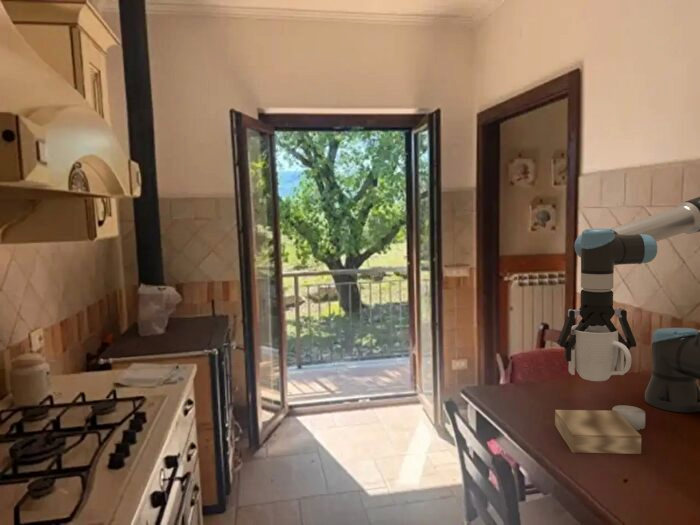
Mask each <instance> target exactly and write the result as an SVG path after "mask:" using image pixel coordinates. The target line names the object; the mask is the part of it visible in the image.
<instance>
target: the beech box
mask: <svg viewBox="0 0 700 525" xmlns="http://www.w3.org/2000/svg"><path fill="white" fill-rule="evenodd" d="M554 415H555V416H554V421H555V422H554V426H555V428H556V429H557V431H558V433H559V434H560V435H561V437H562V439H563V440H564V441H565V443H566V445H567V446H568V448H569V450H570V451H571V453H577V454H579V453H580V454H581V453H587V454H588V453H589V454H596V453H597V454H623V455H624V454H625V455H626V454H629V455H642V435H641V434H640V433H639V432H638V430H635V429H634V428H633V427H632V426H631V425H630V424H629V423H628V422H627V421H626V420H625V419H624V418H623V417H622V416H621V415H620V414H619V413H618V412H617V411H612V410H603V409H602V410H600V409H599V410H598V409H594V410H593V409H591V410H590V409H583V410H582V409H554Z"/></svg>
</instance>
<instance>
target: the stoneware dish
mask: <svg viewBox="0 0 700 525" xmlns="http://www.w3.org/2000/svg"><path fill="white" fill-rule="evenodd" d="M611 411H617V412H618V413H619V414H620V415H621V416H622V417H623V418H624V419H625V420H626V421H627V422H628V423H629V424H630V425H631V426H632V427H633V428H634V429H635V430H636V431H641V430H643V429H645V428H646V411H645V410H643V409H642V408H639V407H637V406H632V405H628V404H627V405H625V404H619V405H618V404H617V405H615V406H612V409H611ZM640 429H641V430H640Z"/></svg>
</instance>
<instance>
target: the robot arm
mask: <svg viewBox="0 0 700 525" xmlns="http://www.w3.org/2000/svg"><path fill="white" fill-rule="evenodd" d="M695 233H700V196H697V197H694V198H692V199H689V200H686V201H683V202H680V203H678V204H676V205H675V207H674V208H671V209H669V210H664V211H662V212H659V213H655V214H652V215H650V216H646V217H644V218H639V219H637V220H634V221H631V222H628V223H623V224H621V225H618V226H615V227H611V228H586V229H584V230H582V232H581V234H580V235H578V236H577V238H576V239H575V241H574V251H575V253H576V255H577V256H578V257H580V288H581V290H580V302H579V303H580V304H579V305H580V306H579V308H578V309H571V308H568V309H567V310H566V319H565V322H564V324H563V327H562V328H561V331H560V334H559V336H558V339H557V341H556V342H557V343H556V344H557V345H559V347H561V348H564V359H565V361H566V362H568V372H569V374H571V376H575V375H576V374H575V373H576V371H575V370H576V368H575V350H574V349H573V348H572V347H573V346H574V344H575V343H576V334H575V335H572V334H571V328H572V326H574V322H575V319H576V318H577V317H578V315H579V316H580V317H581V320H580V321H579V322H578V324H577V325H578V326H577V327H576V329H575V330H577V331H582V332H584V331H585V329H587V328H588V327H589V325H590V326H597V325H598V326H604V325H605V326H606V327H607V328H608V329H609V331H610V332H615V331H617V329H618V328H617V329H616V326H615V325H614V323H613V322H612V320H611V319H612V318H613V317H614V316H615V317H617V318H618V321H619V324H620V327H621V329H622V332H623V334H624V337H625V339H624V337H623V336H622V335H621V333H620V332H619V331H618V342H620V343H622V344H624V345H625V346H626V347H627V348H628V350H629V351H630V349H631V348H635V347H637V342H636V340H635V336H634V335H633V331H632V329H631V326H630V323H629V321H628V318H627V317H628V316H627V315H628V313H627V312H628V311H627V310H625V309H623V308H621V307H620V308H618V309H615V308H614V291H613V288H614V271H615V270H614V269H615V266H619V265H620V266H621V265H641V264H646V263H647V264H648V263H651V262H652V261H654V259H655V258H656V256H657V255H658V254H657V253H658V244H657V243H658V242H659V241H662V240H666V239H668V238H672V237H674V236H678V235H681V234H686V235H692V234H695ZM569 335H570V336H569ZM625 362H626V358H625V354H624V352H623V351H622V349H621V348H619V347H618V357H617V362H616V371H621V370H623V369H624V367H625ZM624 375H625V373H624V374H621V375H620V376H624ZM698 380H700V329H696V328H692V327H663V328H657V329H656V330H654V331H653V334H652V341H651V377H650V380H649V381H648V385H647V387H646V389H645V392H644V401H645V402H646V403H647V404H648V405H650V406H652V407H654V408H658V409H660V410H663V411H669V412H676V413H687V414H689V413H698V412H700V385H699V382H698Z"/></svg>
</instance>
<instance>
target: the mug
mask: <svg viewBox="0 0 700 525" xmlns="http://www.w3.org/2000/svg"><path fill="white" fill-rule="evenodd" d="M578 325H579V324H575V325H574V324H573V326H572V328H571V330H570V335H571V334H572V335H575V334H576V343H575V344H574V346H573V347H572V348H573V349H574V350H575V370H576V372H577V374H578V376H579V377H581V379H583V380H586V381H590V382H606V381H607V380H609V379H610V378H611V377H612V376H618V375H619V376H622V375H621V374H624V375H625V374H626V373H627V372H629V371H630V369H631V365H632V354H631V353H630V350H628V348H627V347H626V346H625V345H624V344H622V343H620V342H618V332H619V329H618V328H616V327H615V328H616V329H617V331H615V332H610V331H609V329H608V328H607V327H606V326H605V325H604V326H598V325H597V326H590V325H589V327H588V328H587V329H585V331H584V332H582V331H577V330H575V329H576V327H577V326H578ZM618 347H619V348H621V349H622V351H623V352H624V354H625V358H626V361H625V363H624V369H623V370H621V371H617V370H615V368H616V367H617V357H618Z"/></svg>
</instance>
